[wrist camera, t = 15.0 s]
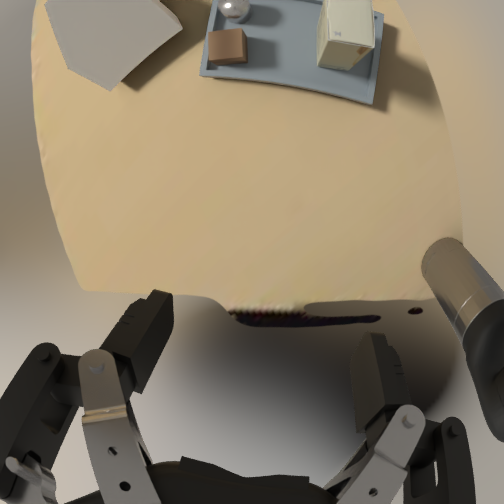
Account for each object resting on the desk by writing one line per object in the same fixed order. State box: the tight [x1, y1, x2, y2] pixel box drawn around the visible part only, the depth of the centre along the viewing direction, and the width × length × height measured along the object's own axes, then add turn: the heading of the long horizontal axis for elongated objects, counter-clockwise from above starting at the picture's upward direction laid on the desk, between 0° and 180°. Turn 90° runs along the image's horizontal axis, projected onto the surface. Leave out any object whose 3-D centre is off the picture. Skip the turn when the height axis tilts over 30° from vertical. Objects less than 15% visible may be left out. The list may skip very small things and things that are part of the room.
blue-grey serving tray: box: [199, 0, 384, 105], centre depth 27 cm, size 22×14×3 cm, turn 82°
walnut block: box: [208, 28, 248, 66], centre depth 26 cm, size 4×4×4 cm
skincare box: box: [316, 0, 375, 71], centre depth 21 cm, size 6×4×12 cm
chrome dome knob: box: [218, 0, 253, 24], centre depth 23 cm, size 4×4×4 cm
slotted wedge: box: [44, 0, 183, 91], centre depth 22 cm, size 14×11×18 cm
